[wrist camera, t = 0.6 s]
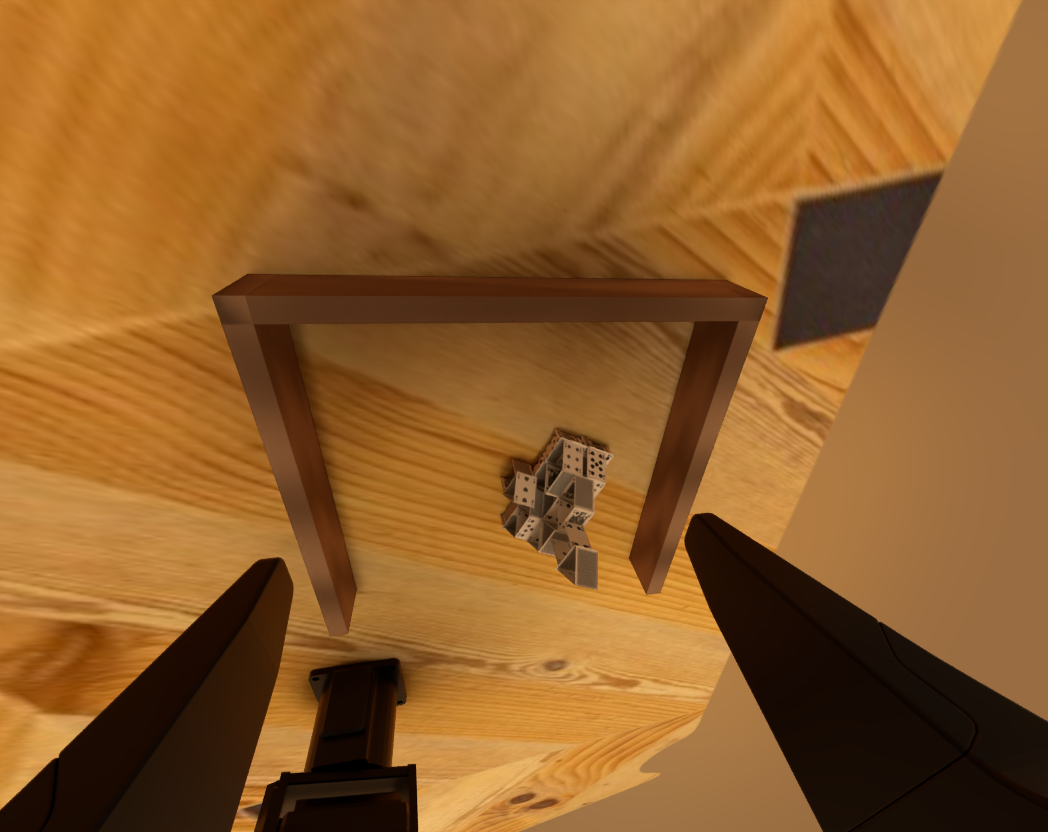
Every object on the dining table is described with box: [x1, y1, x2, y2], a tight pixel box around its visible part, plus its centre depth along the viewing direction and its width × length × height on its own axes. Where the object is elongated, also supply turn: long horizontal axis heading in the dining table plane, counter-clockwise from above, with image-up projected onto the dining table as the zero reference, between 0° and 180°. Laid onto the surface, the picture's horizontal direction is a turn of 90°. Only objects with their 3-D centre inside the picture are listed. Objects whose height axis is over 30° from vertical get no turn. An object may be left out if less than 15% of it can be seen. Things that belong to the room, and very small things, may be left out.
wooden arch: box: [212, 274, 768, 636], centre depth 22 cm, size 20×21×3 cm
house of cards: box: [500, 429, 615, 590], centre depth 21 cm, size 9×9×8 cm
